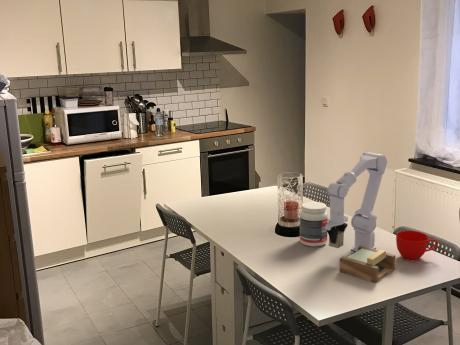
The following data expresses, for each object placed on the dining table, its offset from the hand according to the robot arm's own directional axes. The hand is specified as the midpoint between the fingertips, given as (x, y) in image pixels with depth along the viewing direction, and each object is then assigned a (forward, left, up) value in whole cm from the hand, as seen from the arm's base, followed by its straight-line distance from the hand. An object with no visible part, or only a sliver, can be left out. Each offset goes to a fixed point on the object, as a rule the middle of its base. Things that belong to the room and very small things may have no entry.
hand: (336, 241), depth 218 cm
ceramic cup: (-24, +25, -9) cm, 36 cm away
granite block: (0, 0, -2) cm, 2 cm away
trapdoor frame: (0, +15, -9) cm, 17 cm away
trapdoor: (0, +14, -4) cm, 15 cm away
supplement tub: (-11, -19, -9) cm, 24 cm away
